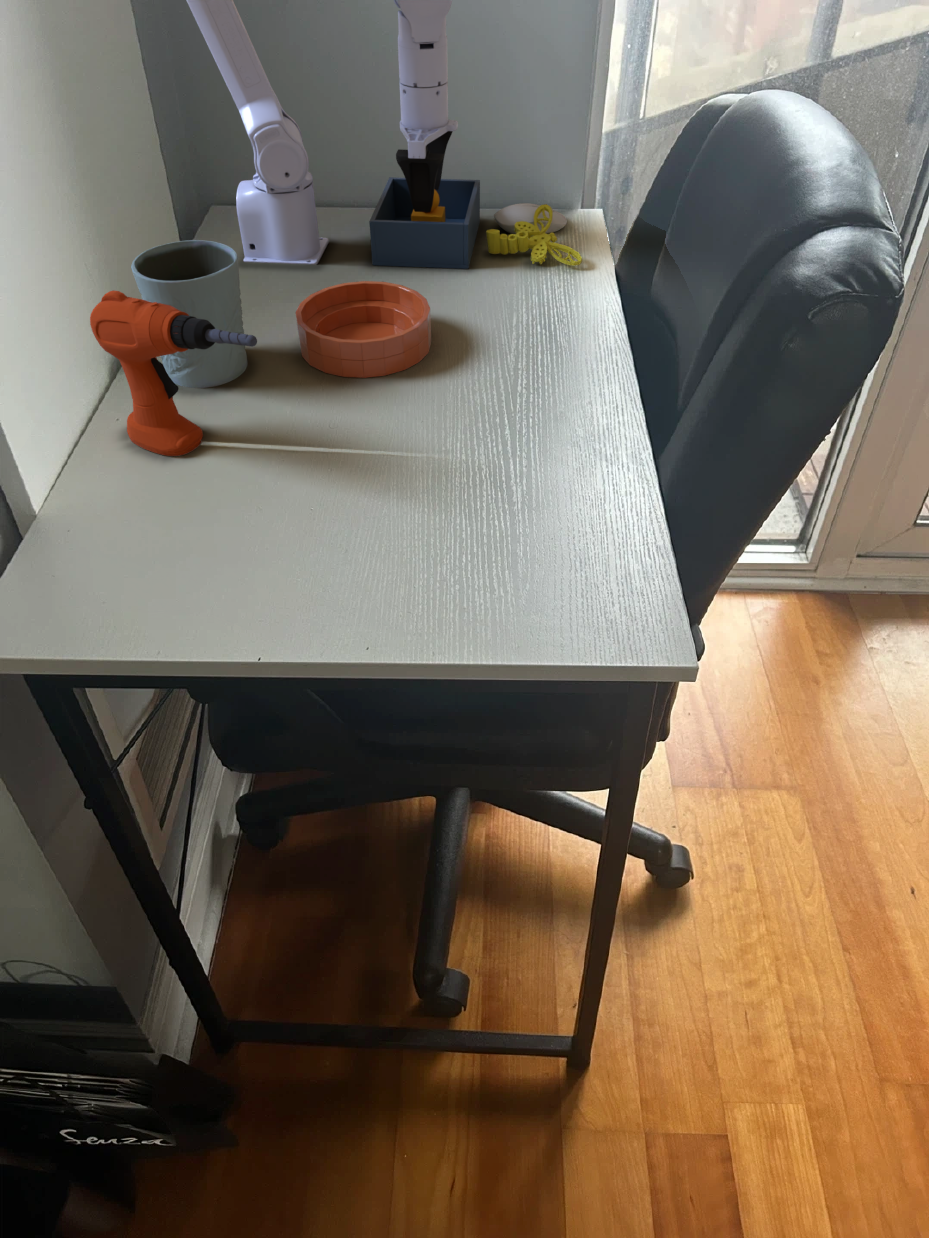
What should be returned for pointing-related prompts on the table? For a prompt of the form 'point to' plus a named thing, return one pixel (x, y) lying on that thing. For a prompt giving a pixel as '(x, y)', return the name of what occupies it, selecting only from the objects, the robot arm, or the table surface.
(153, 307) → the toy drill
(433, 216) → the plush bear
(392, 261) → the bin
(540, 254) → the decorative insect
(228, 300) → the grey blue pot
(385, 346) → the bowl
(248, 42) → the robot arm
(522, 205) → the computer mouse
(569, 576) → the table surface
